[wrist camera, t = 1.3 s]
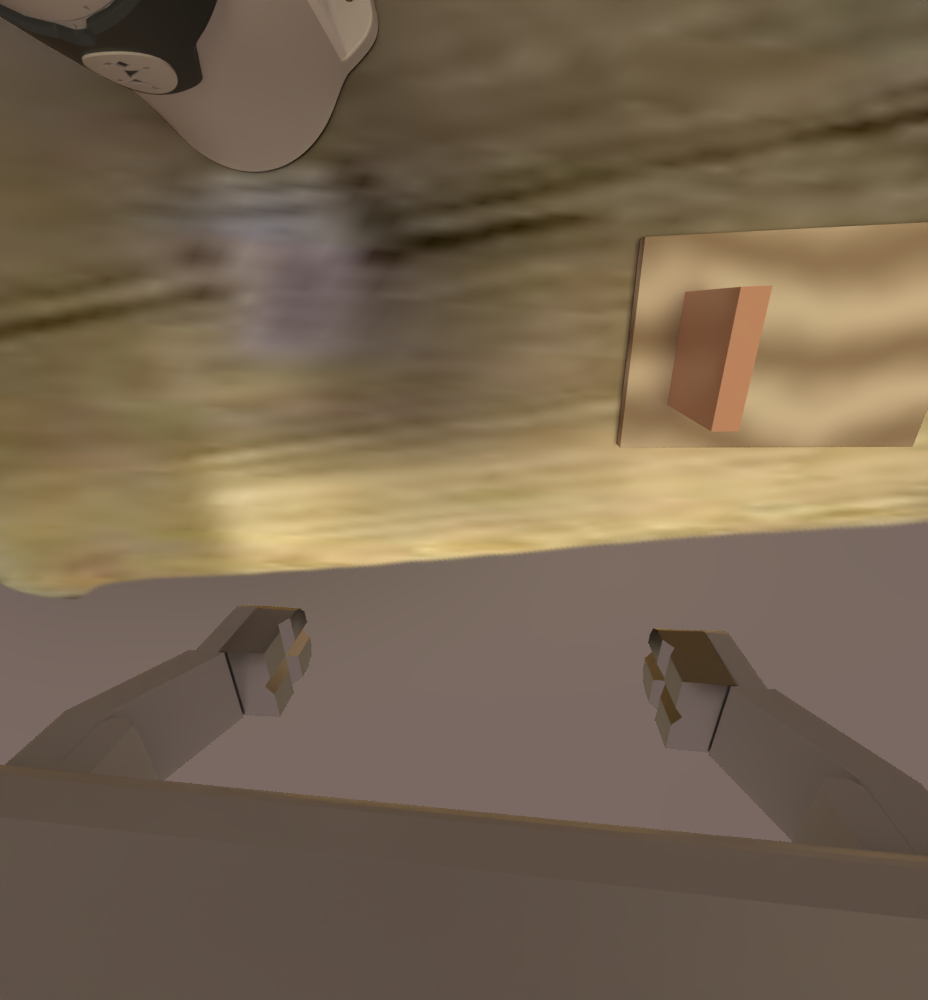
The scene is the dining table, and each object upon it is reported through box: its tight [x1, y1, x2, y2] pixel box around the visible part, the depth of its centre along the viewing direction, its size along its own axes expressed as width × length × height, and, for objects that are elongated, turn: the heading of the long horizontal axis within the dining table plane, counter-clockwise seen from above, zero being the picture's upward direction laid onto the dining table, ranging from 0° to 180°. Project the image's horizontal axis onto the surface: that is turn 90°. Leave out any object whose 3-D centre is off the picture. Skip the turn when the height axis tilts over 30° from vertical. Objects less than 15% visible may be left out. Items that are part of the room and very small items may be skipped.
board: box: [617, 222, 928, 448], centre depth 32 cm, size 15×22×1 cm
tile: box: [667, 286, 772, 432], centre depth 28 cm, size 8×2×8 cm, turn 2°
